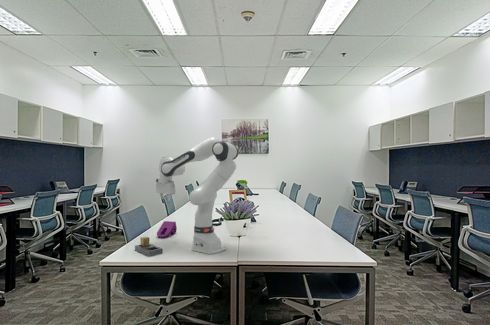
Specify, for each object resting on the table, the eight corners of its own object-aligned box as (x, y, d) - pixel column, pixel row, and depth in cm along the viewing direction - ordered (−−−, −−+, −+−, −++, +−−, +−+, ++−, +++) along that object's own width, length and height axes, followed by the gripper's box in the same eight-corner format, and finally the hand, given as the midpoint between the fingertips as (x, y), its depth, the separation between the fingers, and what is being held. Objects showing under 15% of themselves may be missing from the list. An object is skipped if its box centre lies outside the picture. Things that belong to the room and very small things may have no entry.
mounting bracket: (168, 245, 225) (177, 230, 241) (167, 236, 221) (175, 221, 237) (156, 245, 226) (165, 229, 242) (154, 236, 223) (163, 221, 239)
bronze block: (149, 250, 192) (149, 237, 192) (143, 251, 190) (143, 238, 190) (146, 249, 195) (146, 236, 195) (140, 250, 192) (140, 237, 192)
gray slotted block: (162, 253, 186) (162, 248, 186) (148, 256, 180) (148, 251, 180) (148, 247, 199) (148, 242, 199) (134, 250, 192) (134, 245, 192)
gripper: (177, 180, 208) (177, 200, 208) (162, 179, 223) (162, 198, 223) (169, 180, 204) (169, 201, 204) (154, 179, 218) (154, 199, 218)
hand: (165, 199), depth 213 cm, fingers open, 8 cm apart
